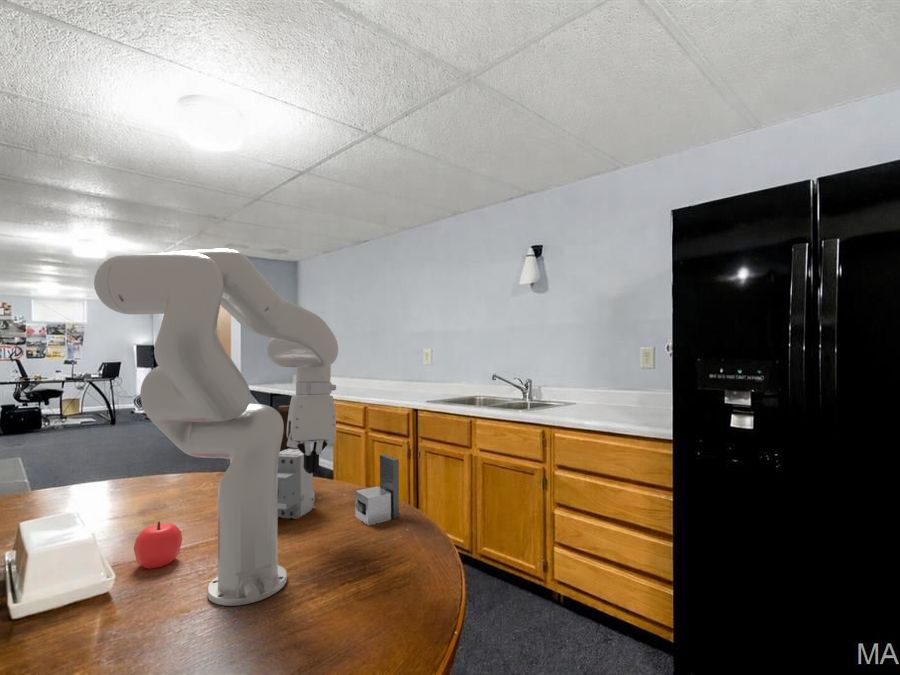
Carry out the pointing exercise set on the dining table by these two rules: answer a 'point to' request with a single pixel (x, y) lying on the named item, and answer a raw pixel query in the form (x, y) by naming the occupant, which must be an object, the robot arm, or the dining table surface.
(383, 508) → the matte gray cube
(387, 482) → the grey l-shaped bracket part
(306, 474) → the circuit breaker
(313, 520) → the dining table surface
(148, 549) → the apple
